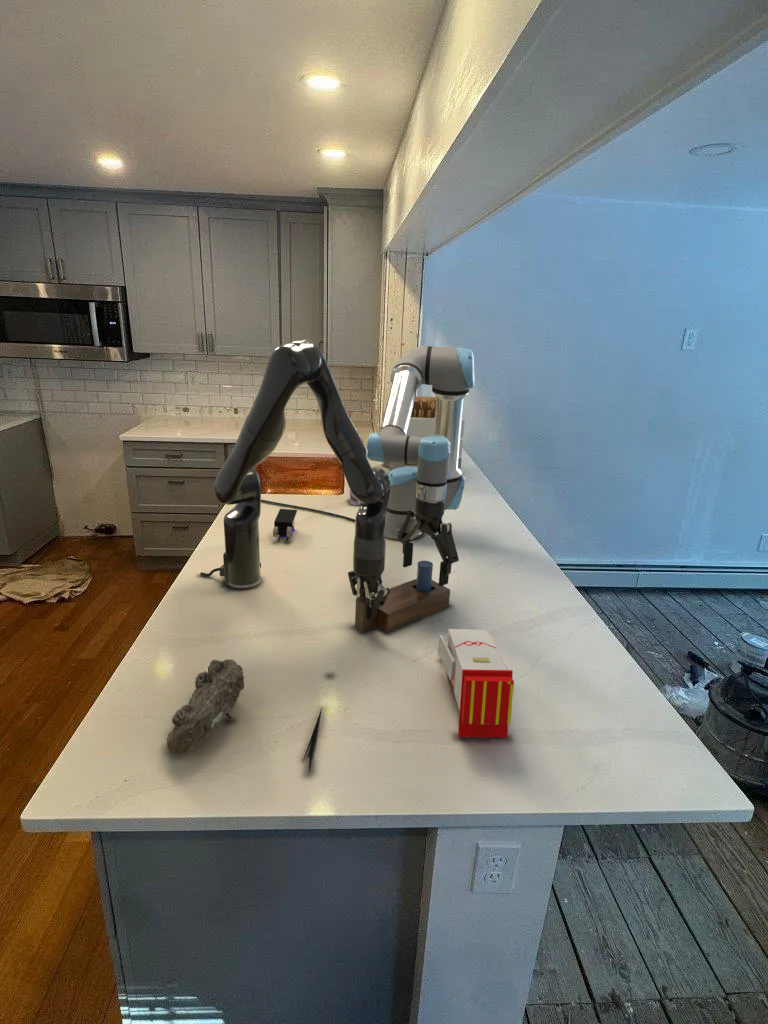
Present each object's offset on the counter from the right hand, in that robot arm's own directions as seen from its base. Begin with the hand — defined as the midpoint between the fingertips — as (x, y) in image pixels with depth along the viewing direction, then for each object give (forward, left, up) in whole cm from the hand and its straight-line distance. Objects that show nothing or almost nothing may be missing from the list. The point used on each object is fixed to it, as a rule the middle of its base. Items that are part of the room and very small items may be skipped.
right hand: (424, 575), depth 150 cm
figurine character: (-62, -5, -9) cm, 63 cm away
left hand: (0, -19, -5) cm, 20 cm away
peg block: (0, -8, -9) cm, 12 cm away
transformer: (-94, +90, -9) cm, 130 cm away
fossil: (+8, -63, -9) cm, 65 cm away
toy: (+33, -18, -9) cm, 39 cm away
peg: (0, 0, -9) cm, 9 cm away
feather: (+21, -48, -9) cm, 53 cm away
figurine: (-76, +38, -9) cm, 85 cm away
